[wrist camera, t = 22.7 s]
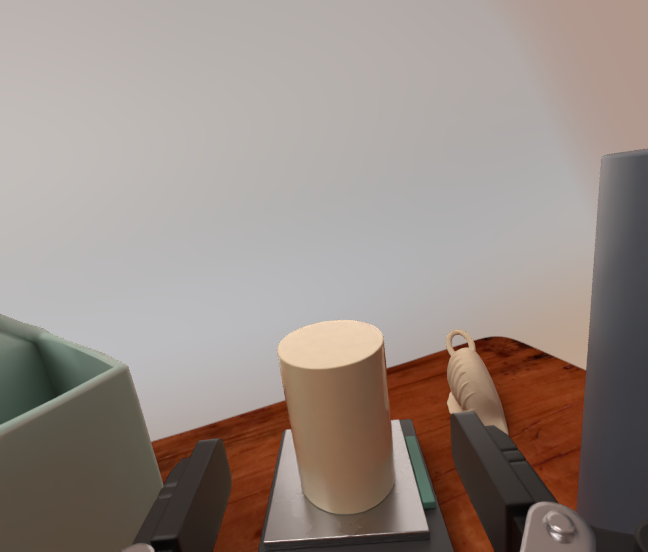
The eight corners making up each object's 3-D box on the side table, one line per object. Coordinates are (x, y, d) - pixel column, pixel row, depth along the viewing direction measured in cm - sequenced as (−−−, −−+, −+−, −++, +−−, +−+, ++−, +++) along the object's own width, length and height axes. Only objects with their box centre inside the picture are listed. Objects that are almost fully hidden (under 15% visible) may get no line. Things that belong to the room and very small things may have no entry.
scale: (413, 442, 27) (410, 411, 26) (456, 585, 18) (454, 543, 17) (287, 453, 28) (281, 423, 27) (262, 597, 18) (252, 557, 17)
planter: (158, 840, 12) (-99, 268, 7) (-129, 969, 10) (-736, 360, 5) (207, 470, 27) (141, 217, 22) (96, 500, 26) (0, 236, 21)
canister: (389, 434, 24) (377, 315, 22) (404, 511, 19) (390, 362, 16) (305, 440, 25) (285, 324, 23) (294, 518, 19) (266, 373, 17)
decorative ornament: (452, 435, 27) (450, 375, 26) (443, 377, 35) (441, 328, 34) (509, 438, 26) (509, 376, 25) (487, 377, 34) (486, 327, 33)
